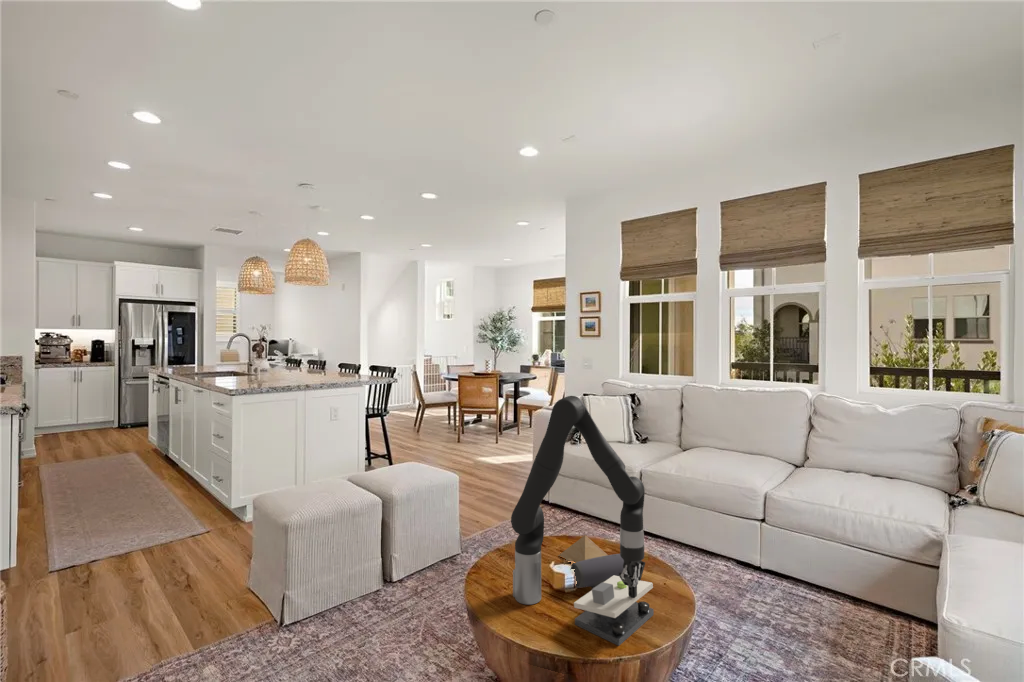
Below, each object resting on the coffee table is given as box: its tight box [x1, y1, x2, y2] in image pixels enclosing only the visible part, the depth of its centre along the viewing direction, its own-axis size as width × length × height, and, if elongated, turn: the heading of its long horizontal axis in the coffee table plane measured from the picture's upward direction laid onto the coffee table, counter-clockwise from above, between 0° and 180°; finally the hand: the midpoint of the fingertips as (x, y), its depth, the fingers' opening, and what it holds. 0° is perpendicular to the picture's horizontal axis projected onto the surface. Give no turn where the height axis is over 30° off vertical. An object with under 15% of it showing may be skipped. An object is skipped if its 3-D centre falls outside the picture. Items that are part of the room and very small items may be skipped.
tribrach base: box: [574, 601, 655, 647], centre depth 163 cm, size 16×22×6 cm
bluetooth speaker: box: [570, 553, 624, 589], centre depth 186 cm, size 23×9×10 cm, turn 111°
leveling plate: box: [573, 575, 654, 618], centre depth 164 cm, size 15×24×7 cm, turn 137°
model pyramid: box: [557, 534, 608, 562], centre depth 208 cm, size 17×17×10 cm
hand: (632, 596), depth 159 cm, fingers closed
